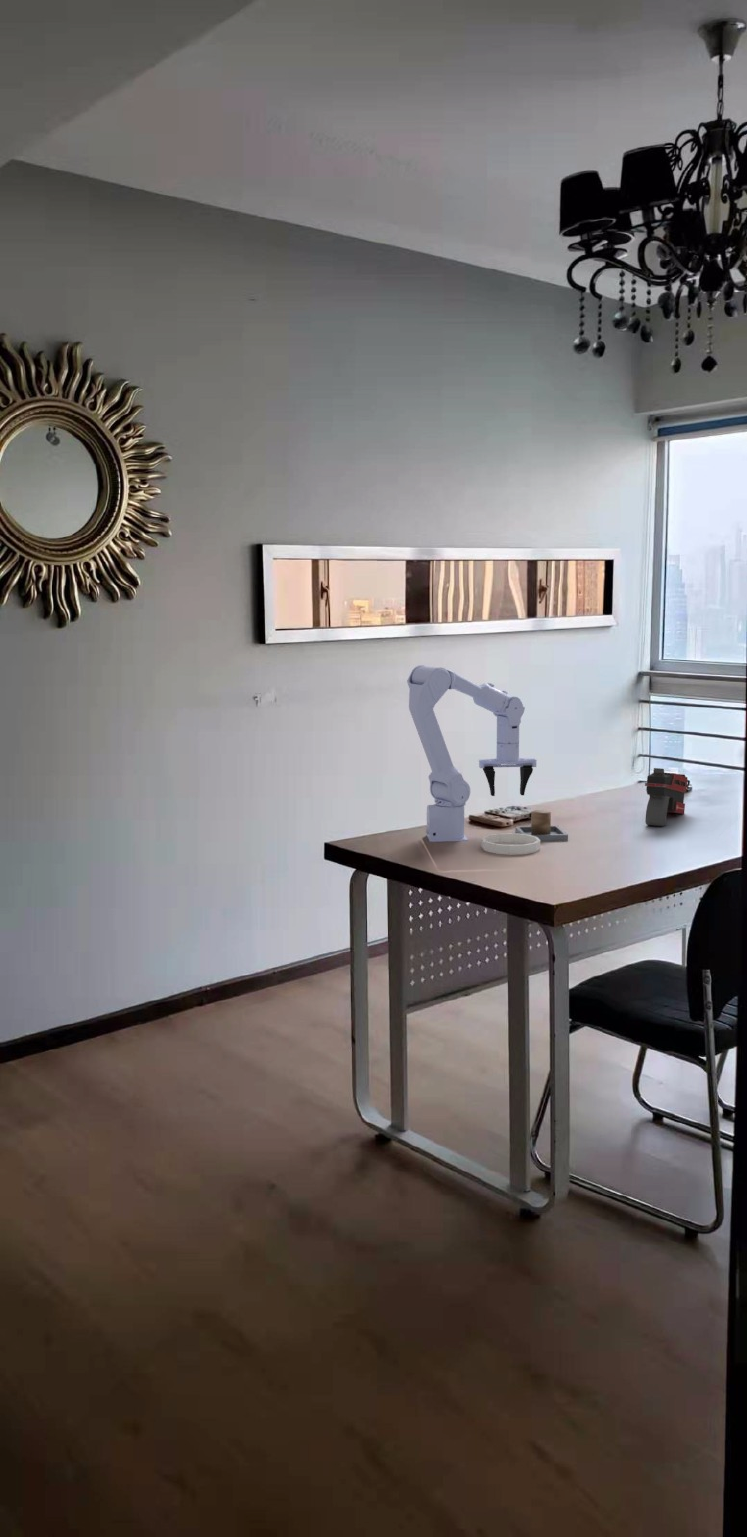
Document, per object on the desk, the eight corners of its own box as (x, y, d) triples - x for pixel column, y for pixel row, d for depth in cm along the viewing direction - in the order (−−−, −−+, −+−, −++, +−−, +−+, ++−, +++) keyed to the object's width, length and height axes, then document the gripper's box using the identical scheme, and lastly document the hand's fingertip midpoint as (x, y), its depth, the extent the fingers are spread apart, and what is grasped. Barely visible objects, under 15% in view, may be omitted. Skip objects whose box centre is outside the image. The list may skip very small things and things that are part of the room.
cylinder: (532, 837, 297) (533, 814, 296) (529, 833, 302) (530, 810, 301) (552, 837, 297) (552, 813, 296) (548, 833, 302) (548, 810, 301)
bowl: (487, 856, 280) (487, 846, 280) (478, 843, 294) (478, 833, 293) (544, 855, 281) (544, 844, 281) (532, 842, 294) (533, 832, 294)
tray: (523, 843, 294) (524, 835, 294) (515, 833, 305) (515, 826, 305) (567, 841, 295) (568, 834, 295) (557, 832, 306) (557, 825, 305)
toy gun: (641, 824, 310) (646, 766, 311) (663, 827, 331) (668, 773, 332) (661, 826, 308) (667, 768, 309) (683, 829, 329) (688, 775, 329)
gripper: (482, 745, 300) (482, 798, 302) (539, 744, 301) (538, 797, 303) (477, 741, 307) (477, 793, 309) (533, 740, 308) (532, 792, 310)
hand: (507, 795), depth 307 cm, fingers open, 7 cm apart
